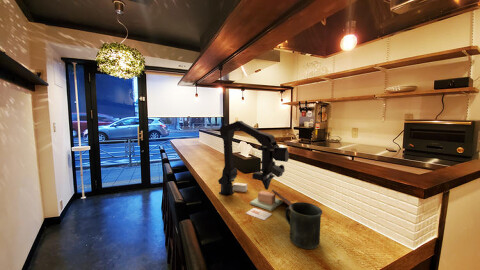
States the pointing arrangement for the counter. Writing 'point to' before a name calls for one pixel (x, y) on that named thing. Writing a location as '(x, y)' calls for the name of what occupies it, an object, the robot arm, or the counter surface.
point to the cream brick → (240, 187)
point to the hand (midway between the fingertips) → (266, 189)
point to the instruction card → (258, 213)
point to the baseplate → (266, 204)
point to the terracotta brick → (266, 197)
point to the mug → (304, 224)
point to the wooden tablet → (282, 198)
